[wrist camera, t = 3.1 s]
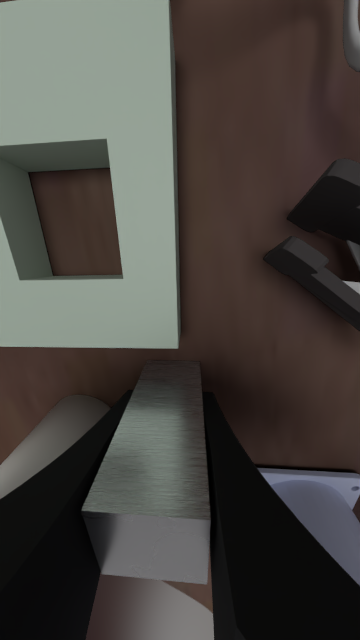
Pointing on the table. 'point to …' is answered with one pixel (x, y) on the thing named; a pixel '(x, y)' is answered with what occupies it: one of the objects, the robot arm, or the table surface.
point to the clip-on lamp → (329, 214)
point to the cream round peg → (50, 439)
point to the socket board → (86, 153)
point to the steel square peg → (155, 482)
